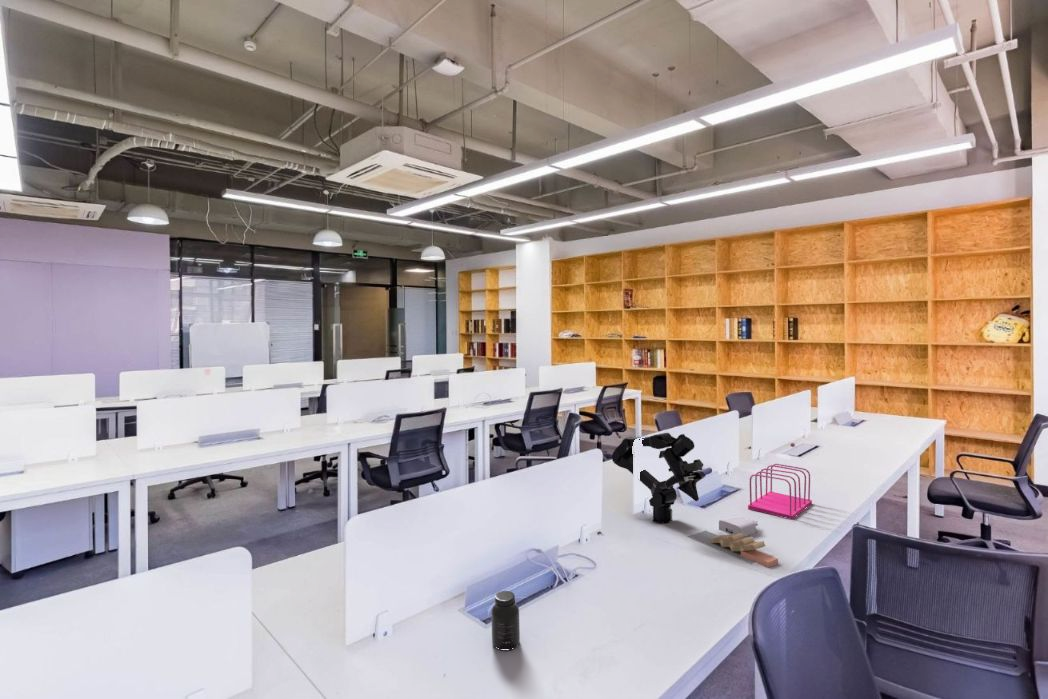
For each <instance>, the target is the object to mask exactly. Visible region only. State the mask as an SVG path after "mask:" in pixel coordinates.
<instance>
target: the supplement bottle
mask: <svg viewBox="0 0 1048 699" xmlns="http://www.w3.org/2000/svg"><path fill="white" fill-rule="evenodd" d="M494 596H495V597H494V605H493V606H492V608H491V611H490V613H491V643H492V646H493V645H494V646H495V647H497V648H499V649H512V648H514V649H516V648H517V647H518V646H519V644H520V641H521V640H520V639H521V638H520V635H521V632H520V609H519V606H518V605H517V603H516V597H515V596H516V595H515V593H514V592H512V591H509V590H502V591H499V592H497V593H496V594H495V595H494ZM517 645H518V646H517ZM494 646H493V647H494ZM516 646H517V647H516ZM495 647H494V648H495ZM515 647H516V648H515ZM497 648H496V649H497ZM512 650H513V649H512Z"/></svg>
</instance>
